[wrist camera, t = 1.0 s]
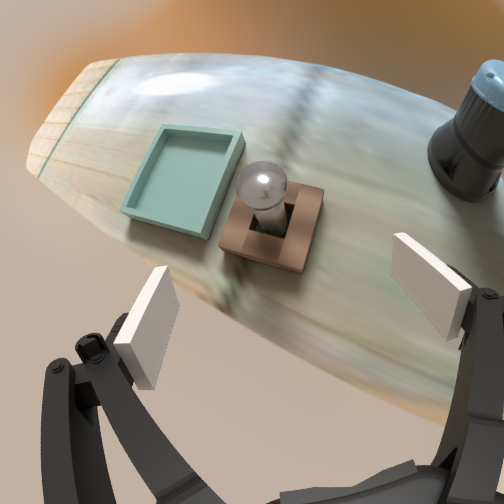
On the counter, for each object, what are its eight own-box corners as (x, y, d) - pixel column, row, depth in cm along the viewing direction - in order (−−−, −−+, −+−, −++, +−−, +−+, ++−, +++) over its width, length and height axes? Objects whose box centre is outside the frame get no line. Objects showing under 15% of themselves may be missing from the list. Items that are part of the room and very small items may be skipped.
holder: (249, 181, 45) (245, 171, 42) (323, 198, 42) (324, 189, 39) (223, 251, 43) (217, 246, 40) (302, 274, 40) (301, 270, 37)
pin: (262, 203, 44) (244, 157, 31) (297, 211, 42) (293, 166, 30) (250, 237, 43) (228, 200, 30) (287, 246, 41) (278, 212, 29)
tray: (169, 134, 51) (162, 124, 48) (245, 143, 47) (241, 131, 44) (130, 218, 48) (119, 211, 44) (208, 240, 44) (200, 233, 40)
